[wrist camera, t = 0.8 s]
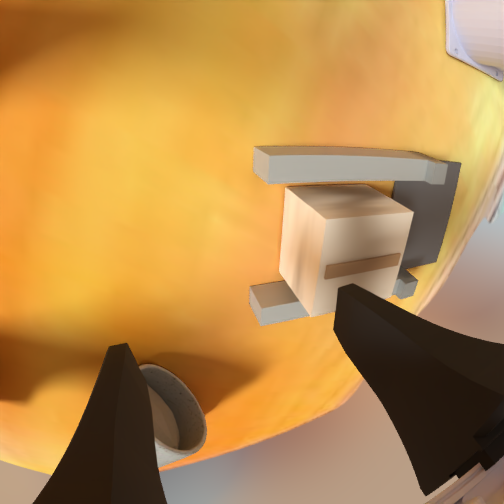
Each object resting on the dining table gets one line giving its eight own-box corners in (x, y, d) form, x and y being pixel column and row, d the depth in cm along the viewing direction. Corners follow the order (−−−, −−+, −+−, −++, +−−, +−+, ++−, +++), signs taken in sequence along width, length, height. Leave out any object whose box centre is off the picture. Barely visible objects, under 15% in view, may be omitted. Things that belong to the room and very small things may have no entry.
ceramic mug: (75, 395, 22) (75, 473, 16) (127, 346, 21) (134, 437, 15) (166, 430, 28) (180, 495, 22) (221, 393, 27) (247, 463, 21)
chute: (417, 152, 21) (448, 164, 18) (390, 275, 26) (413, 295, 24) (253, 146, 17) (274, 158, 15) (249, 303, 23) (264, 333, 20)
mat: (459, 162, 23) (461, 163, 23) (434, 260, 28) (436, 261, 28) (398, 157, 21) (400, 157, 21) (374, 274, 26) (376, 275, 25)
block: (365, 184, 21) (415, 213, 16) (351, 259, 24) (392, 298, 19) (285, 187, 19) (327, 220, 15) (279, 271, 22) (311, 318, 18)
